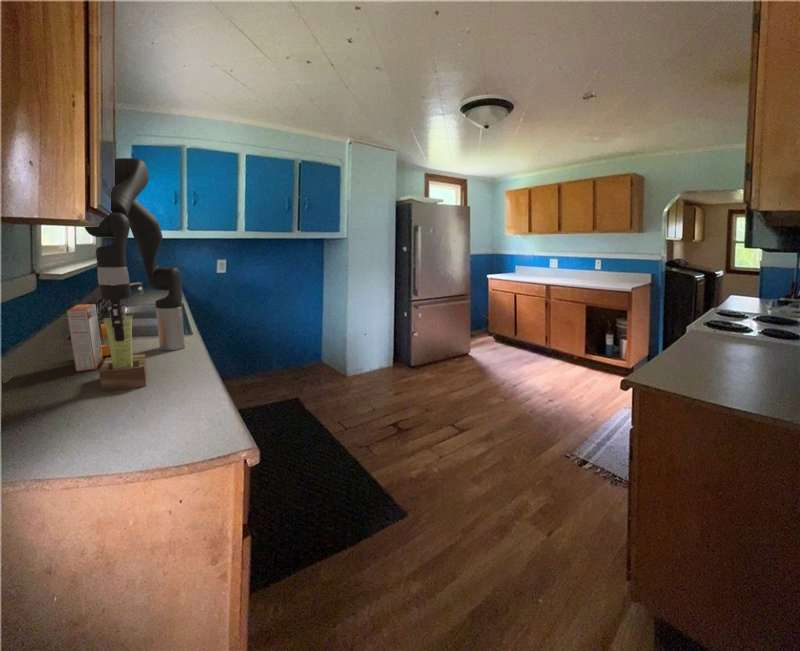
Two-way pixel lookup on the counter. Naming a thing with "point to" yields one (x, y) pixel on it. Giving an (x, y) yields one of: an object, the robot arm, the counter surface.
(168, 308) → the robot arm
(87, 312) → the cracker box
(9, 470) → the counter surface
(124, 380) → the wooden box
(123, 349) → the tube
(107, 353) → the bracket
